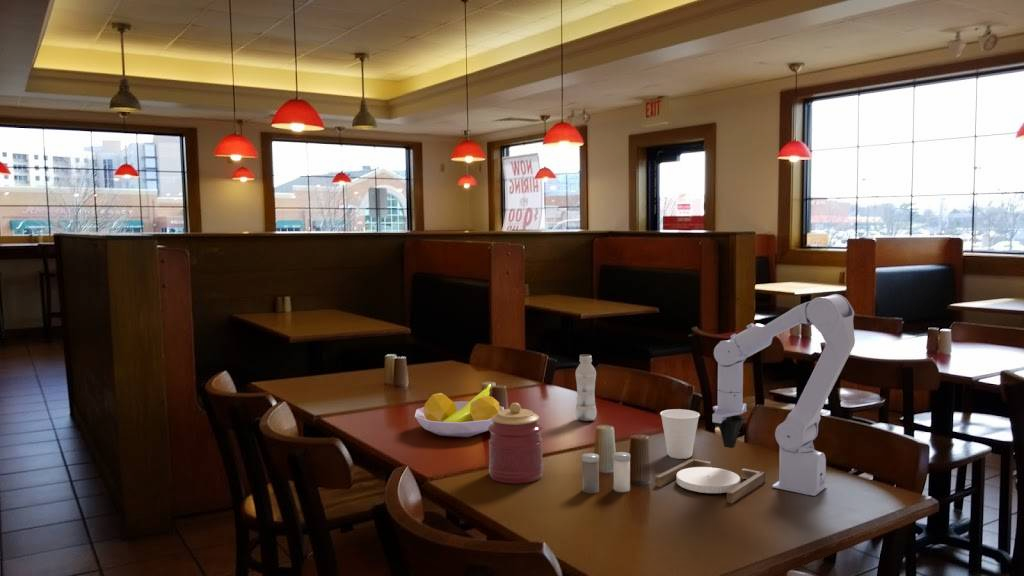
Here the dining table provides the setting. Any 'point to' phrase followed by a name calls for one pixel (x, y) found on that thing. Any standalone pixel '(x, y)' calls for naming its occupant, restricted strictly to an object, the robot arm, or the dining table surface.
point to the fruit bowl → (458, 414)
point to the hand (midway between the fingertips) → (729, 446)
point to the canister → (515, 446)
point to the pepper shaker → (590, 473)
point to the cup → (679, 432)
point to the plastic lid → (707, 479)
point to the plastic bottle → (585, 389)
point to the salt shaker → (621, 471)
